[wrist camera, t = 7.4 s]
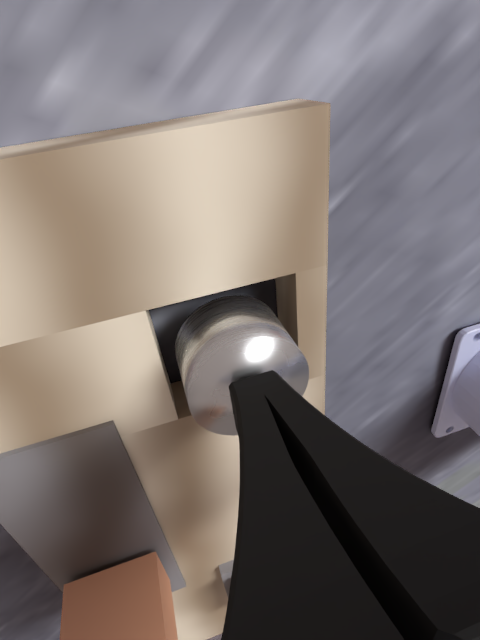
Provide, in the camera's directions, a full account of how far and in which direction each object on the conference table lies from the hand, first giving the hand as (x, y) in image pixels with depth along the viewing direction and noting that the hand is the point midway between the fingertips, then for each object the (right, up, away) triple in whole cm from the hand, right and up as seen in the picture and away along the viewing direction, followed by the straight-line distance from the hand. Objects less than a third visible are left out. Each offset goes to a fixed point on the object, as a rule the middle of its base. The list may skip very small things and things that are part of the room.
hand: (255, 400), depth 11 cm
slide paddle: (-6, -10, +7) cm, 13 cm away
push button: (-1, +1, +2) cm, 3 cm away
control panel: (-3, -5, +8) cm, 10 cm away
